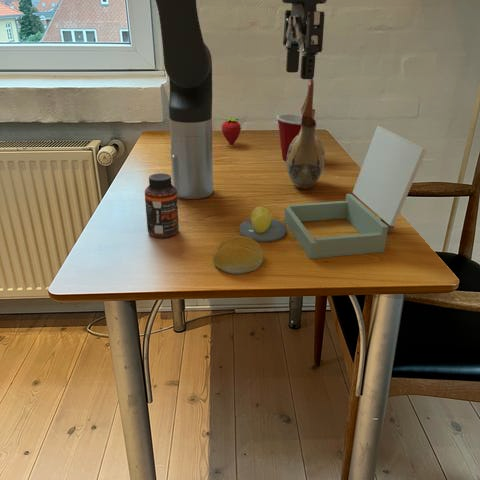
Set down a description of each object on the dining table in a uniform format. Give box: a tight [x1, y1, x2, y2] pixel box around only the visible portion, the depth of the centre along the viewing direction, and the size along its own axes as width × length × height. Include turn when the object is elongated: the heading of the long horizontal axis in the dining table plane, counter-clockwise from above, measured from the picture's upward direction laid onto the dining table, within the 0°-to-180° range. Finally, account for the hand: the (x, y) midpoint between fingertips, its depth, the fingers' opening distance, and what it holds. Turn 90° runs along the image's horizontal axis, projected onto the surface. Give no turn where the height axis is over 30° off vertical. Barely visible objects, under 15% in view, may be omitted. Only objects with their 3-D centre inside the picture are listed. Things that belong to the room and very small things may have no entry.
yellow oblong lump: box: [250, 206, 273, 233], centre depth 88 cm, size 4×8×4 cm, turn 173°
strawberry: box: [221, 117, 242, 146], centre depth 141 cm, size 6×8×10 cm
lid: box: [351, 125, 427, 227], centre depth 84 cm, size 14×16×1 cm
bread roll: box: [212, 235, 264, 275], centre depth 78 cm, size 8×9×4 cm
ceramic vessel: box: [285, 78, 326, 190], centre depth 107 cm, size 16×9×25 cm, turn 173°
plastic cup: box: [276, 113, 317, 162], centre depth 129 cm, size 11×11×12 cm
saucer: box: [239, 218, 287, 243], centre depth 89 cm, size 9×9×1 cm
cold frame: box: [283, 193, 388, 260], centre depth 87 cm, size 14×16×5 cm
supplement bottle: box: [144, 172, 180, 239], centre depth 86 cm, size 6×6×11 cm
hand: (299, 75), depth 82 cm, fingers open, 8 cm apart
